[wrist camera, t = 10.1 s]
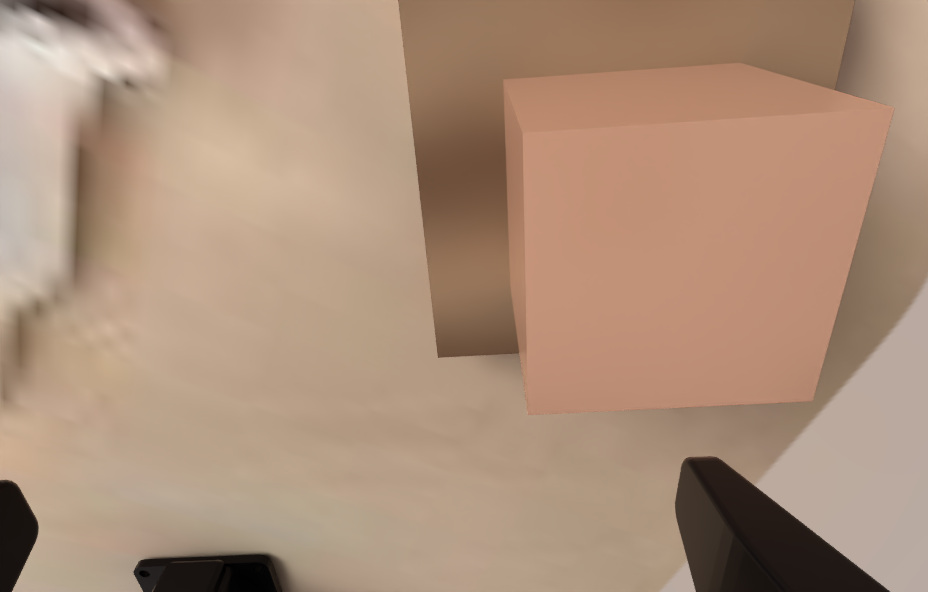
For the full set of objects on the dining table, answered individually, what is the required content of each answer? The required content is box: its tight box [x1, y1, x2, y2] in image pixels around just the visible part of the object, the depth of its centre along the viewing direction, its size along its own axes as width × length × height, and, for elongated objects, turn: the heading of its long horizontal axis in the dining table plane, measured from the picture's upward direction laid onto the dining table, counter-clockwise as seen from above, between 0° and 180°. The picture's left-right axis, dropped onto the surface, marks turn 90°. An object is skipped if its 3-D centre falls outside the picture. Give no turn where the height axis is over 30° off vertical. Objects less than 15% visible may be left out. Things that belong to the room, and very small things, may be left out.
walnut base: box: [398, 0, 855, 358], centre depth 17 cm, size 11×11×2 cm
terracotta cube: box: [503, 63, 895, 415], centre depth 13 cm, size 6×6×6 cm
